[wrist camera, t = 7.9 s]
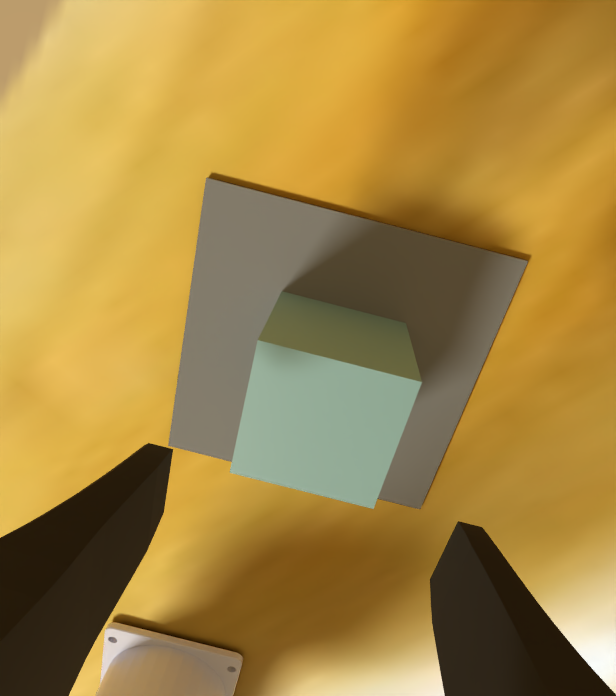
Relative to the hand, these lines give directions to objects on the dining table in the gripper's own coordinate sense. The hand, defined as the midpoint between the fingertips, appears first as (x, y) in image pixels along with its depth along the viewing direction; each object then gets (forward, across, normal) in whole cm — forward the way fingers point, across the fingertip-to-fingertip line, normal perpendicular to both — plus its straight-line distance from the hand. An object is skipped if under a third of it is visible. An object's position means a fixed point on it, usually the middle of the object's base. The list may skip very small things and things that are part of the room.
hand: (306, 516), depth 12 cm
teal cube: (+9, 0, 0) cm, 9 cm away
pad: (+9, 0, 0) cm, 9 cm away
